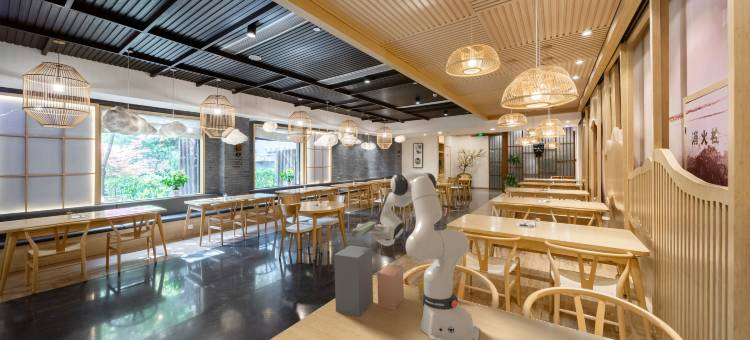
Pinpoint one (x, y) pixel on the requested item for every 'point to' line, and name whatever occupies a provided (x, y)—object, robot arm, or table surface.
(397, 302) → the terracotta block
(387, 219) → the robot arm
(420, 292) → the candy box
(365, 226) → the sage bar
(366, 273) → the tall grey pillar
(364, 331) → the table surface
